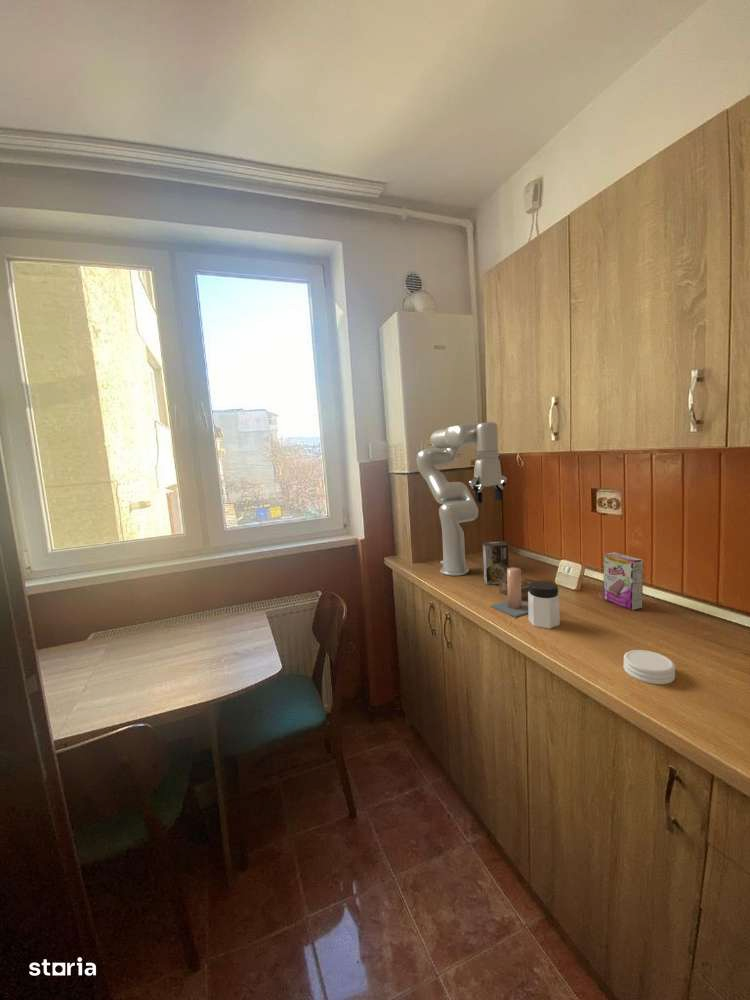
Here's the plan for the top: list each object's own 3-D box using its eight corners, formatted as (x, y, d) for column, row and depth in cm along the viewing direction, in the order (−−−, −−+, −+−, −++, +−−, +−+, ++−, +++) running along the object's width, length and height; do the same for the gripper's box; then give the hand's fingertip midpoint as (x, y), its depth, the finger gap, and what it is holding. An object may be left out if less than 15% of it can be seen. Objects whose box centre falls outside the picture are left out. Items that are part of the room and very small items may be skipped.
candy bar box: (602, 599, 139) (602, 553, 137) (613, 597, 140) (613, 551, 138) (631, 611, 128) (632, 561, 126) (643, 608, 130) (644, 559, 128)
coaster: (644, 687, 89) (644, 673, 89) (614, 664, 99) (614, 651, 99) (686, 683, 90) (686, 668, 90) (652, 660, 100) (652, 647, 99)
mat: (490, 606, 139) (490, 605, 139) (514, 600, 143) (514, 598, 143) (514, 617, 129) (514, 615, 129) (539, 609, 133) (539, 608, 133)
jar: (563, 628, 119) (563, 589, 118) (535, 629, 120) (535, 590, 118) (551, 616, 128) (551, 579, 127) (525, 617, 129) (525, 581, 127)
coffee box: (506, 579, 166) (505, 540, 164) (509, 584, 160) (508, 544, 158) (483, 579, 167) (482, 541, 165) (486, 584, 161) (485, 545, 159)
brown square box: (499, 592, 151) (499, 582, 151) (518, 587, 155) (518, 577, 155) (518, 600, 143) (518, 589, 142) (538, 595, 147) (537, 584, 146)
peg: (505, 605, 137) (504, 569, 135) (514, 603, 139) (513, 566, 137) (514, 610, 133) (513, 572, 132) (524, 607, 135) (523, 569, 133)
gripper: (498, 454, 157) (499, 498, 159) (462, 457, 150) (464, 503, 152) (512, 454, 150) (513, 499, 152) (476, 457, 143) (477, 504, 145)
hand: (489, 501), depth 152 cm, fingers open, 9 cm apart
